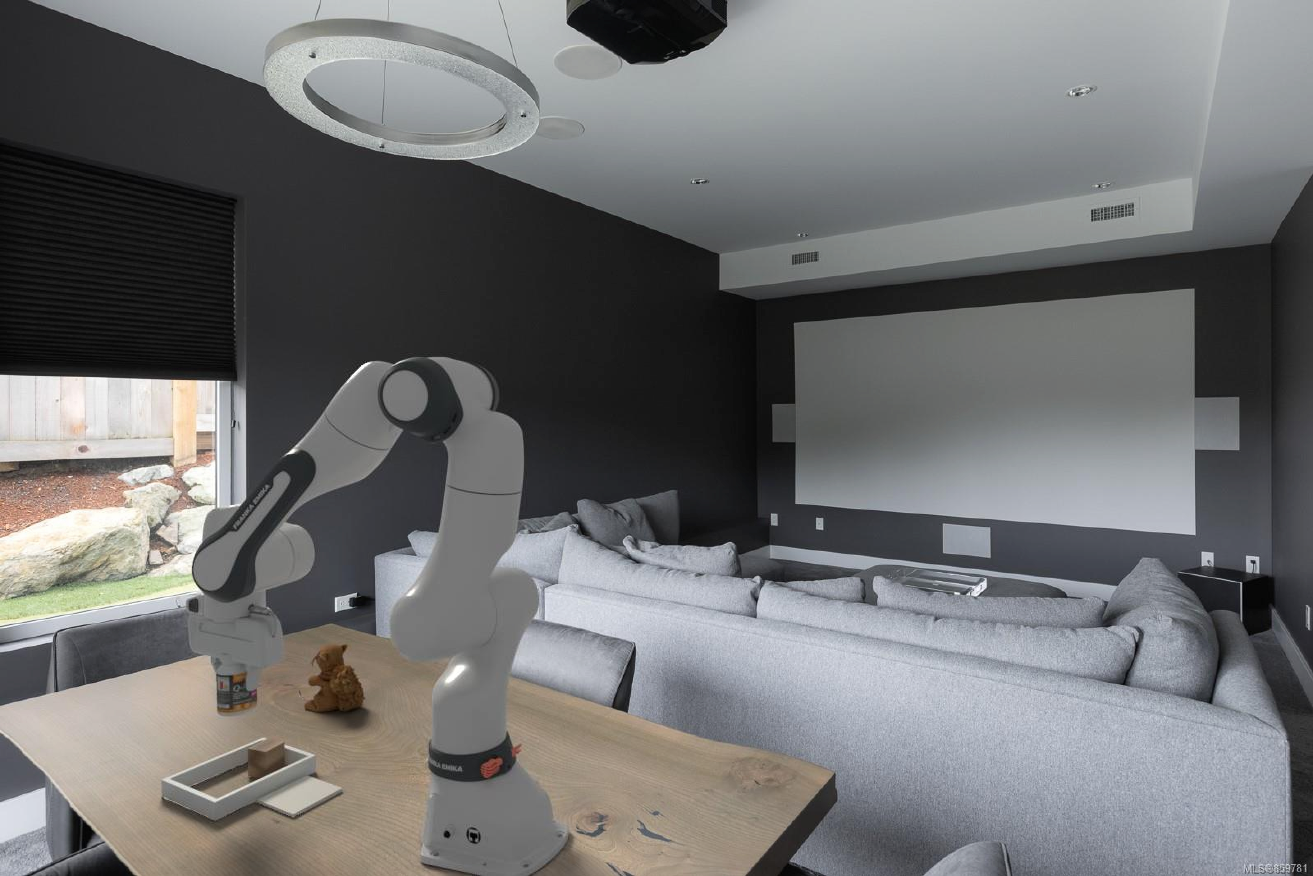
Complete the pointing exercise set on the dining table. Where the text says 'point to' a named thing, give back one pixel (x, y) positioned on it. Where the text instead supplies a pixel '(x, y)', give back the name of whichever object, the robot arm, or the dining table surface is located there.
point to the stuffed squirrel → (334, 682)
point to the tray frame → (216, 808)
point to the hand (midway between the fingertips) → (237, 685)
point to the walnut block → (266, 758)
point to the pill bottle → (233, 689)
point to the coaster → (300, 796)
